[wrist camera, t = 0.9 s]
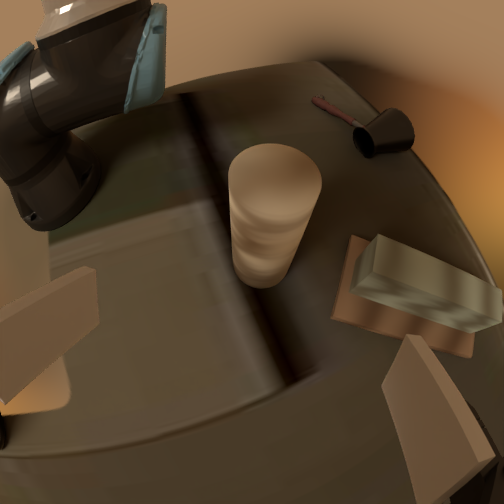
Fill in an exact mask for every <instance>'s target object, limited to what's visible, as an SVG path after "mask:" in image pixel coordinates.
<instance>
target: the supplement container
mask: <svg viewBox="0 0 504 504" xmlns="http://www.w3.org/2000/svg"><path fill="white" fill-rule="evenodd" d="M4 443H5V428H4V423H3V419H2V415H1V412H0V450H1V449H2V448H3V446H4Z"/></svg>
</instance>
